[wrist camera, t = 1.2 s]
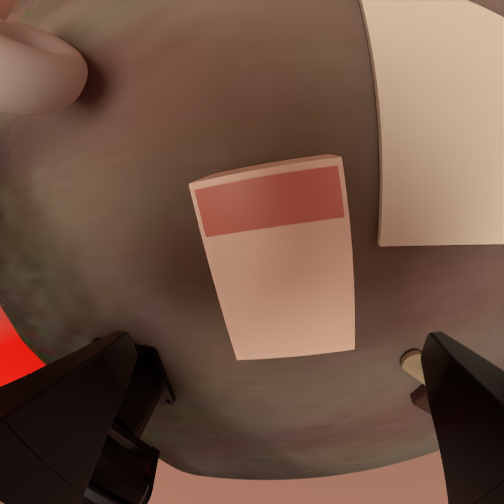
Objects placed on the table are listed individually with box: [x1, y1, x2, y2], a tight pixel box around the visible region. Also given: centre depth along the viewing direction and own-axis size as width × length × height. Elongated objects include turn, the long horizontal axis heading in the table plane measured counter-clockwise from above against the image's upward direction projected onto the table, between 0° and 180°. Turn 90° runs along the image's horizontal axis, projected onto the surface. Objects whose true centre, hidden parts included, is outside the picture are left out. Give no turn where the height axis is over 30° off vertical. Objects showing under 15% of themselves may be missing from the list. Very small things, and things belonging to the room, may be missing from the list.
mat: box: [359, 0, 504, 246], centre depth 10 cm, size 16×12×1 cm
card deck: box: [189, 154, 355, 360], centre depth 14 cm, size 9×6×4 cm, turn 11°
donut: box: [0, 20, 88, 115], centre depth 8 cm, size 10×4×10 cm, turn 47°
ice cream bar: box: [401, 350, 431, 414], centre depth 17 cm, size 5×2×15 cm
